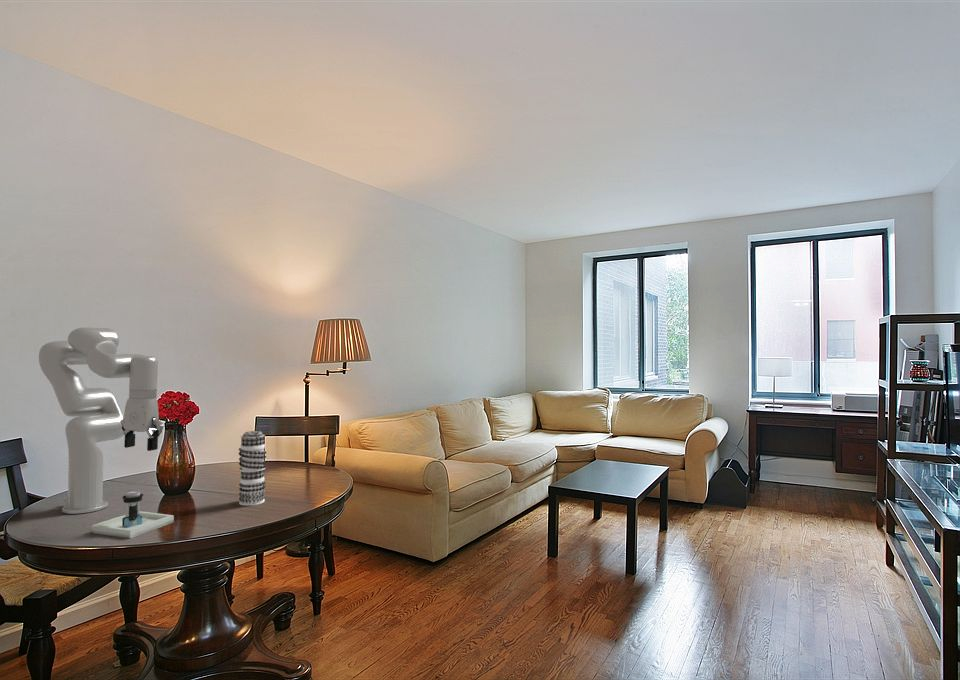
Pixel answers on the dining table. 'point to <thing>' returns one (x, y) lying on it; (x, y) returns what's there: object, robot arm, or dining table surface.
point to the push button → (132, 509)
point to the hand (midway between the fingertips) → (140, 448)
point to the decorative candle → (252, 468)
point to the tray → (116, 528)
